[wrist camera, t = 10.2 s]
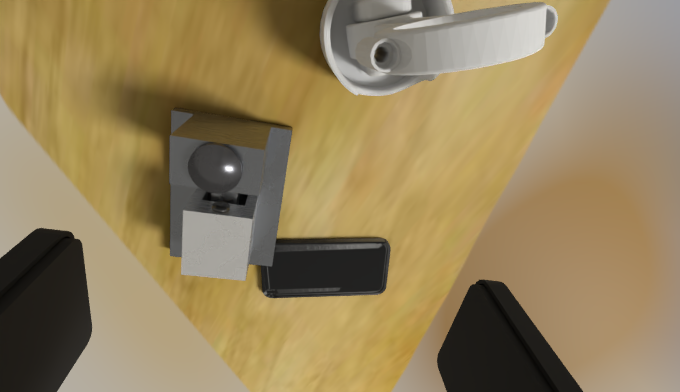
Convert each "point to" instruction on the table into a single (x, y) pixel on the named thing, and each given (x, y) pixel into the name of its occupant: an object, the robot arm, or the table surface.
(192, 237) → the block
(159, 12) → the table surface
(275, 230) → the coupler
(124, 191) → the table surface
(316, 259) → the phone
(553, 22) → the engine component
